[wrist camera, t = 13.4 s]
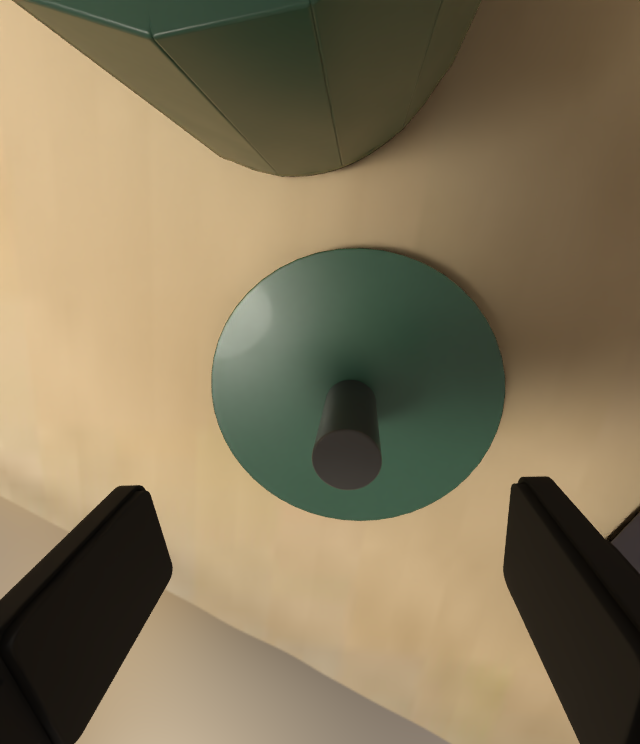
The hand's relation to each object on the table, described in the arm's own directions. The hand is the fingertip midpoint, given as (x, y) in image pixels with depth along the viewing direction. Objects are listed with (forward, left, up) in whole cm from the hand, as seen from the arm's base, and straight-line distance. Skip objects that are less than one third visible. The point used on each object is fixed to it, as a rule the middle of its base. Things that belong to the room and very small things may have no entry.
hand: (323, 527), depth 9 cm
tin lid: (0, 0, -10) cm, 10 cm away
